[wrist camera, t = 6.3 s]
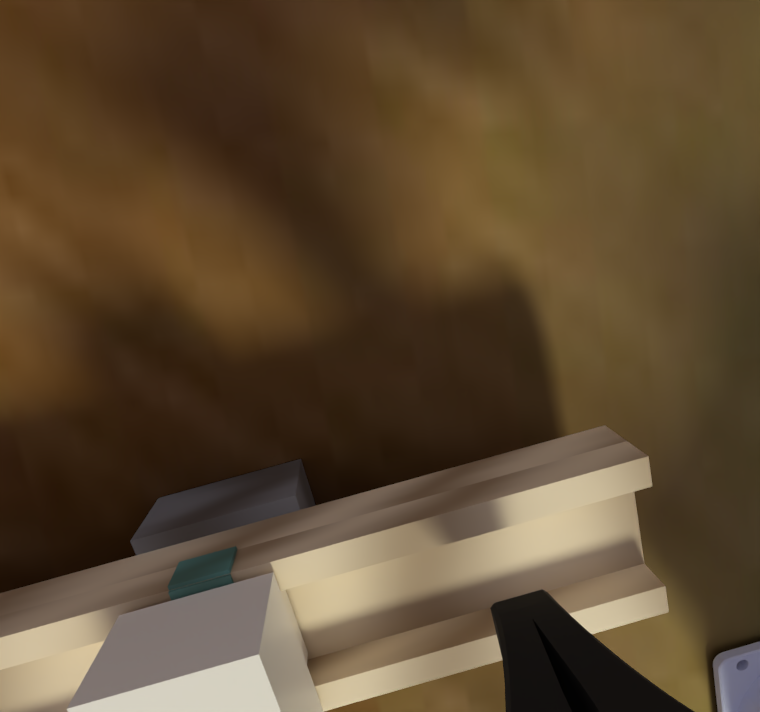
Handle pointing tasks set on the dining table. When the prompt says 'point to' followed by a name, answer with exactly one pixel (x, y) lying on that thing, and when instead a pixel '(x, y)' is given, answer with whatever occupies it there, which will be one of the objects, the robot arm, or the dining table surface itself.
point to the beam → (364, 567)
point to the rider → (204, 656)
